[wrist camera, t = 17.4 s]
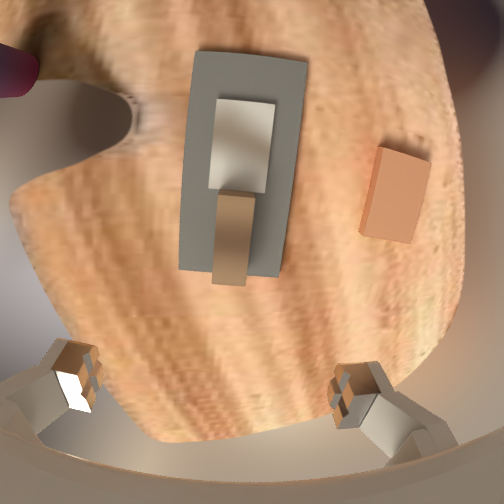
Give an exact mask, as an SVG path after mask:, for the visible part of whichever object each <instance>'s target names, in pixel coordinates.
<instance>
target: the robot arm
mask: <svg viewBox="0 0 504 504" xmlns="http://www.w3.org/2000/svg"><path fill="white" fill-rule="evenodd" d="M98 356H99V351H98V348H97V347H96V346H95V345H90V344H85V343H81V342H77V341H72V340H66V339H63V338H58V339H56V340H55V341H54V343H53V344H52V346H51V347H50V349H49V350H48V352H47V353H46V355H45V356H44V358H43V359H42V361H41V362H40V364H39V365H38V366H36V365H34V366H32V367H30V368H29V369H26V370H24V371H22V372H20V373H18V374H16V375H14V376H12V377H10V378H9V379H6V380H4V381H2V382H0V504H504V426H503V427H501V428H499V429H497V430H495V431H493V432H490V433H488V434H486V435H484V436H481V437H479V438H477V439H474V440H472V441H469V442H467V443H464V444H461V445H458V443H457V441H456V439H455V437H454V436H453V434H452V432H451V430H450V429H449V427H448V425H447V423H446V421H444V420H442V419H441V418H439V417H438V416H436V415H434V414H432V413H431V412H430V411H428V410H427V409H425V408H423V407H422V406H420V405H418V404H417V403H416V402H414V401H412V400H411V399H409V398H408V397H406V396H405V395H403V394H402V393H400V392H395V391H394V389H393V387H392V385H391V383H390V382H389V380H388V378H387V376H386V374H385V372H384V370H383V369H382V367H381V365H380V363H379V362H377V361H372V362H359V363H339V364H337V366H336V367H335V370H334V374H335V377H334V378H333V379H332V380H331V381H330V383H329V386H328V394H327V395H328V401H329V405H330V406H331V407H332V408H333V409H335V411H334V413H333V418H334V421H335V424H336V428H337V429H347V428H358V427H359V429H360V430H361V431H362V432H363V433H364V434H365V435H366V436H367V437H368V438H369V439H371V440H372V441H373V442H374V443H375V444H376V445H377V446H378V447H379V448H380V449H381V450H382V451H383V452H385V453H386V454H387V455H388V456H389V457H390V458H391V459H390V460H389V462H388V463H387V464H386V465H385V466H384V468H381V469H376V470H371V471H366V472H361V473H355V474H349V475H343V476H336V477H328V478H320V479H310V480H299V481H283V482H219V481H204V480H191V479H182V478H174V477H166V476H159V475H153V474H147V473H141V472H136V471H131V470H126V469H121V468H116V467H113V466H108V465H104V464H100V463H97V462H93V461H89V460H86V459H82V458H79V457H76V456H72V455H69V454H66V453H63V452H60V451H57V450H54V449H51V448H49V447H46V446H43V444H42V443H41V441H40V440H39V438H38V437H37V434H38V433H39V432H40V431H41V430H43V429H44V428H45V427H47V426H48V425H49V424H50V423H52V422H53V421H54V420H56V419H57V418H58V417H59V416H61V415H62V414H63V413H64V412H66V411H67V410H68V409H69V407H71V408H74V409H79V410H83V411H87V412H91V410H92V407H93V405H94V403H95V400H96V396H95V392H96V391H98V390H100V388H101V385H102V382H103V367H102V364H101V363H100V362H99V361H98V360H97V359H98Z"/></svg>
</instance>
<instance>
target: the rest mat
mask: <svg viewBox="0 0 504 504" xmlns="http://www.w3.org/2000/svg"><path fill="white" fill-rule="evenodd" d="M307 64H308V63H306V62H300V61H295V60H289V59H282V58H275V57H268V56H260V55H251V54H241V53H229V52H213V51H195V57H194V65H193V72H192V80H191V88H190V96H189V105H188V115H187V125H186V136H185V147H184V160H183V174H182V190H181V209H180V234H179V270H189V271H201V272H212V271H213V255H214V240H215V227H216V213H217V201H218V193H219V190H220V189H211V188H208V187H209V174H210V163H211V152H212V141H213V131H214V121H215V112H216V103H217V99H226V100H238V101H249V102H258V103H266V104H274V105H275V111H274V119H273V128H272V137H271V145H270V153H269V162H268V170H267V179H266V187H265V193H257V192H254V195H255V205H254V214H253V223H252V232H251V240H250V249H249V258H248V267H247V275H249V276H263V277H276V278H279V272H280V266H281V259H282V253H283V247H284V240H285V234H286V227H287V220H288V213H289V207H290V200H291V193H292V186H293V178H294V171H295V164H296V156H297V148H298V141H299V133H300V125H301V117H302V108H303V100H304V91H305V83H306V74H307Z"/></svg>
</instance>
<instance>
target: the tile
mask: <svg viewBox="0 0 504 504" xmlns="http://www.w3.org/2000/svg"><path fill="white" fill-rule="evenodd" d="M430 168H431V163H430V162H428V161H425V160H422V159H419V158H416V157H413V156H410V155H407V154H404V153H401V152H397V151H394V150H391V149H388V148H384V147H379V146H378V147H377V152H376V157H375V162H374V167H373V172H372V176H371V181H370V186H369V190H368V194H367V199H366V203H365V207H364V211H363V215H362V219H361V223H360V227H359V231H358V232H359V233H360V234H361V235H363V236H366V237H372V238H378V239H384V240H389V241H395V242H401V243H406V244H411V241H412V238H413V235H414V231H415V228H416V224H417V221H418V217H419V214H420V210H421V206H422V202H423V198H424V194H425V190H426V186H427V181H428V177H429V172H430Z"/></svg>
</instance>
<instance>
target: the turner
mask: <svg viewBox="0 0 504 504" xmlns="http://www.w3.org/2000/svg"><path fill="white" fill-rule="evenodd" d="M274 111H275V105H274V104H266V103H258V102H249V101H238V100H226V99H217V103H216V112H215V121H214V131H213V141H212V152H211V163H210V174H209V187H208V188H211V189H220V190H219V193H218V201H217V213H216V227H215V240H214V255H213V271H212V284H218V285H231V286H244V287H245V285H246V276H247V267H248V258H249V249H250V240H251V232H252V223H253V214H254V205H255V195H254V192H257V193H265V187H266V179H267V170H268V162H269V153H270V145H271V137H272V128H273V119H274Z"/></svg>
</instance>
